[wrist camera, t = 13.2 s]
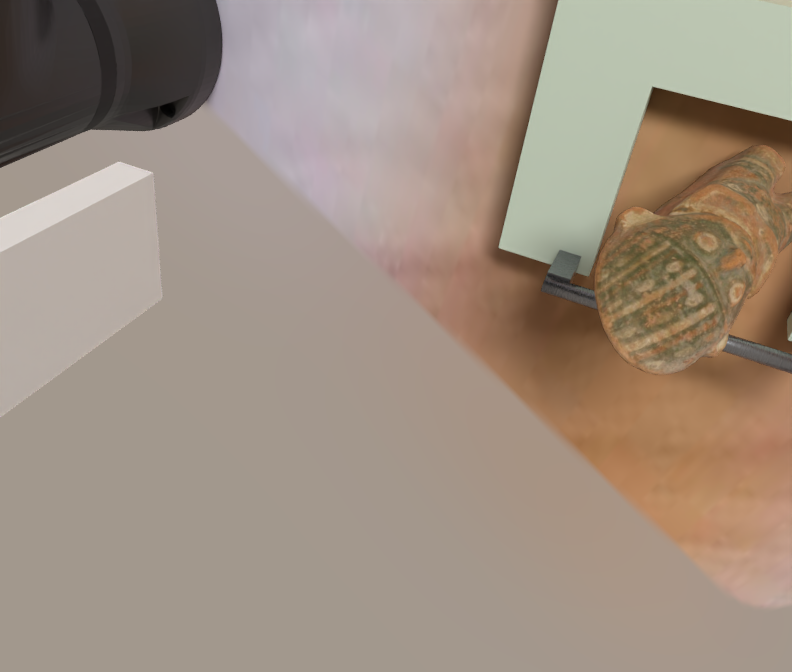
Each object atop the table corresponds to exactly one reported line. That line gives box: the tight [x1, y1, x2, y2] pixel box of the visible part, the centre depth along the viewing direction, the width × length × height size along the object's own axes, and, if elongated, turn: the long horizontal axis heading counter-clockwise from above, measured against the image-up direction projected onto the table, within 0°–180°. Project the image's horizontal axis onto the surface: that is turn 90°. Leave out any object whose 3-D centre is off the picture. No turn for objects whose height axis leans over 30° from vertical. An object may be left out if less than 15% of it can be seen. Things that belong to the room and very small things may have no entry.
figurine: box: [594, 145, 792, 375], centre depth 37 cm, size 8×8×15 cm
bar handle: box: [541, 250, 792, 374], centre depth 43 cm, size 16×1×4 cm, turn 82°
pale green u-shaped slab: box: [499, 0, 792, 341], centre depth 41 cm, size 24×17×2 cm
